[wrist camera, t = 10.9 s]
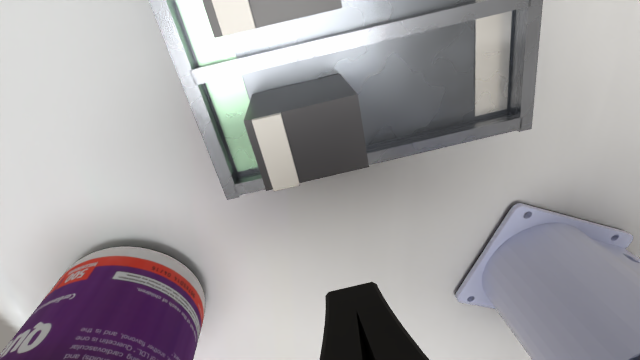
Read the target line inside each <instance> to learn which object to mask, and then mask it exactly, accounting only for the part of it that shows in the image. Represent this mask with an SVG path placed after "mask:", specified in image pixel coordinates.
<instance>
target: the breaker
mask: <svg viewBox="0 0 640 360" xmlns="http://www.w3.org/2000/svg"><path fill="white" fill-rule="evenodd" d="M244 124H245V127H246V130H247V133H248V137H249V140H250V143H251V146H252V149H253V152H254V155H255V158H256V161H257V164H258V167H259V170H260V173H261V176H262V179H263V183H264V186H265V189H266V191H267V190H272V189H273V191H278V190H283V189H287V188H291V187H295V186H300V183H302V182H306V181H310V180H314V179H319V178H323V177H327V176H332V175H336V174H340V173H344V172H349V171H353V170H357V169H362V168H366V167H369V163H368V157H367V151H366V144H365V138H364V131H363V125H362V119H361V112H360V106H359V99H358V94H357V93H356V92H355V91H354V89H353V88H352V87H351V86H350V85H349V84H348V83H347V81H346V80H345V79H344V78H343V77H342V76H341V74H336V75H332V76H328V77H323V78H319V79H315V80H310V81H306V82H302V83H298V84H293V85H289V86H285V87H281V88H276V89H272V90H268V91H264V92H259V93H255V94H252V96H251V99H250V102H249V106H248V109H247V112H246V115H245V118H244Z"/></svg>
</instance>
